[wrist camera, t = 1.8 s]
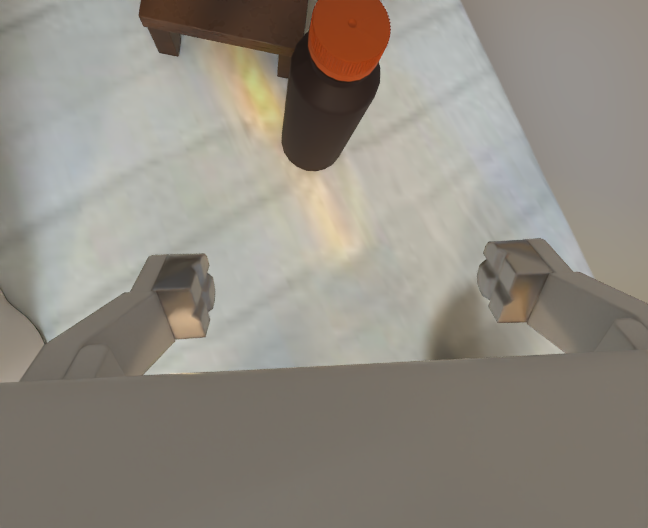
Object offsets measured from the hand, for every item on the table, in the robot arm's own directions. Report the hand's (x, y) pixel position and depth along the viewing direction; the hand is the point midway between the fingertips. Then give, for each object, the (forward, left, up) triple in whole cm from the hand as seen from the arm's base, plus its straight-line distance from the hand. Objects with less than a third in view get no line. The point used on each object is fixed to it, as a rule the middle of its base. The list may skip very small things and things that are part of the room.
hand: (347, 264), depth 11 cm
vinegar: (+1, +15, -31) cm, 34 cm away
